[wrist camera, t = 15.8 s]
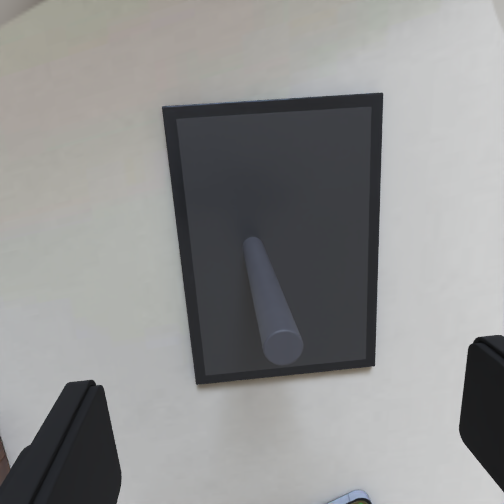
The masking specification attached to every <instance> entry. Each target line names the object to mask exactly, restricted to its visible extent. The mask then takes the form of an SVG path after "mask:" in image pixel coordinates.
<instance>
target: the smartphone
mask: <svg viewBox="0 0 504 504" xmlns="http://www.w3.org/2000/svg"><path fill="white" fill-rule="evenodd" d="M327 504H372V502H371V500H370V499H369V497H368V495H367V493H366V492H364V491H361V490H356V491H353V492H350V493H348V494H346V495H344V496H342V497H340V498H338V499H336V500H334V501H332V502H330V503H327Z"/></svg>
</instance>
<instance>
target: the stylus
mask: <svg viewBox="0 0 504 504" xmlns="http://www.w3.org/2000/svg"><path fill="white" fill-rule="evenodd" d="M242 249H243V254H244V259H245V264H246V269H247V274H248V279H249V284H250V289H251V294H252V298H253V303H254V308H255V313H256V318H257V323H258V328H259V333H260V338H261V343H262V347H263V352H264V355H265V357H266V358H267V359H268V360H269V361H270V362H271V363H273V364H276V365H281V366H283V365H289V364H291V363H293V362H295V361H296V360H297V359H298V358H299V357H300V355H301V353H302V351H303V341H302V338H301V336H300V333H299V331H298V328H297V326H296V324H295V321H294V319H293V316H292V314H291V311H290V309H289V306H288V304H287V302H286V299H285V297H284V294H283V292H282V289H281V287H280V284H279V282H278V280H277V277H276V275H275V272H274V270H273V267H272V265H271V262H270V260H269V258H268V255H267V253H266V250H265V248H264V245H263V243H262V241H261V240H260V239H259V238H256V237H250V238H248V239H246V240H245V241H244V243H243V245H242Z"/></svg>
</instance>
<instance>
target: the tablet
mask: <svg viewBox="0 0 504 504" xmlns="http://www.w3.org/2000/svg"><path fill="white" fill-rule="evenodd" d="M162 111H163V119H164V127H165V135H166V143H167V151H168V159H169V168H170V176H171V184H172V192H173V200H174V208H175V216H176V224H177V233H178V241H179V249H180V257H181V265H182V273H183V281H184V289H185V298H186V306H187V314H188V322H189V330H190V338H191V346H192V354H193V363H194V371H195V379H196V385H198V384H208V383H217V382H227V381H236V380H246V379H256V378H265V377H275V376H285V375H294V374H304V373H313V372H323V371H333V370H342V369H352V368H362V367H371V366H375V347H376V314H377V280H378V247H379V214H380V181H381V147H382V114H383V93H370V94H354V95H338V96H322V97H306V98H289V99H273V100H257V101H241V102H225V103H209V104H193V105H177V106H163V107H162ZM250 237H256V238H259V239H260V240H261V241H262V243H263V245H264V248H265V250H266V253H267V255H268V258H269V260H270V262H271V265H272V267H273V270H274V272H275V275H276V277H277V280H278V282H279V284H280V287H281V289H282V292H283V294H284V297H285V299H286V302H287V304H288V306H289V309H290V311H291V314H292V316H293V319H294V321H295V324H296V326H297V328H298V331H299V333H300V336H301V338H302V341H303V351H302V353H301V355H300V357H299V358H298V359H297V360H296V361H295V362H293V363H291V364H289V365H283V366H281V365H276V364H273V363H271V362H270V361H269V360H268V359H267V358H266V357H265V355H264V352H263V347H262V343H261V338H260V333H259V328H258V323H257V318H256V313H255V308H254V303H253V298H252V294H251V289H250V284H249V279H248V274H247V269H246V264H245V259H244V254H243V249H242V245H243V243H244V241H245V240H246V239H248V238H250Z"/></svg>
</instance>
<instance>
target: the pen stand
mask: <svg viewBox="0 0 504 504" xmlns="http://www.w3.org/2000/svg"><path fill="white" fill-rule="evenodd" d="M9 471H10V467H9V464H8V461H7V457H6V455H5V452H4V448H3V445H2V442H1V438H0V486H1V484H2V483H3V481H4V479H5V478H6V476H7V474H8V473H9Z"/></svg>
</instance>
